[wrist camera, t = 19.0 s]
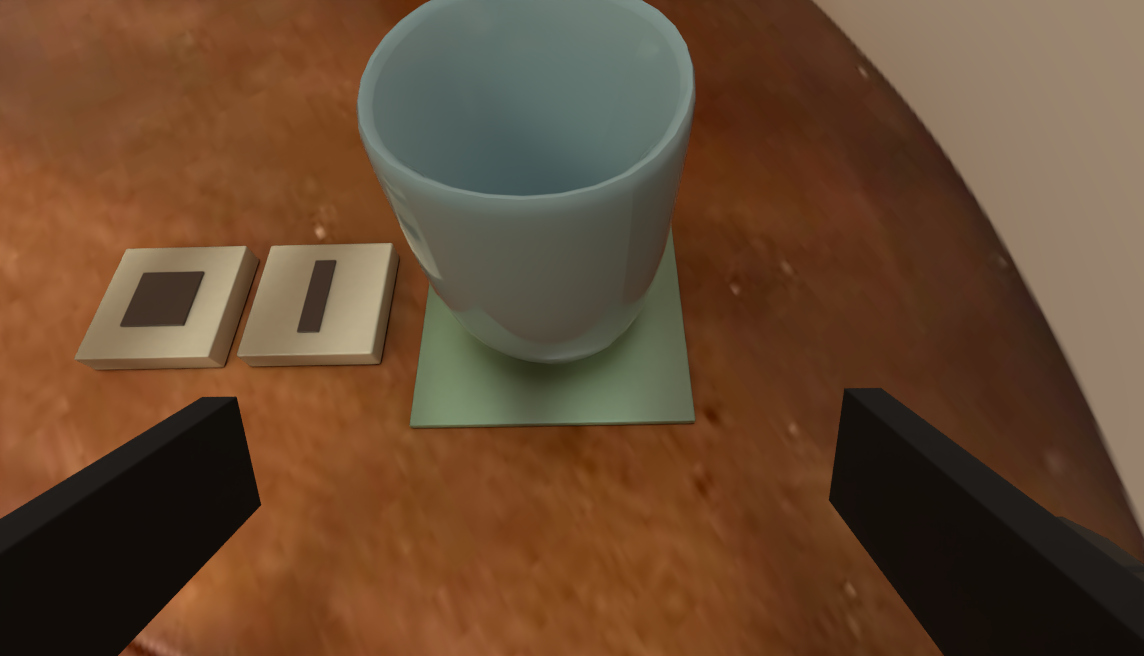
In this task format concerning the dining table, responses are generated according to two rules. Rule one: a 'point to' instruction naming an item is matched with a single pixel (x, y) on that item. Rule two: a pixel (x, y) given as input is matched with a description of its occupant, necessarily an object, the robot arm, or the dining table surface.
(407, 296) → the dining table surface
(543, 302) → the cup
